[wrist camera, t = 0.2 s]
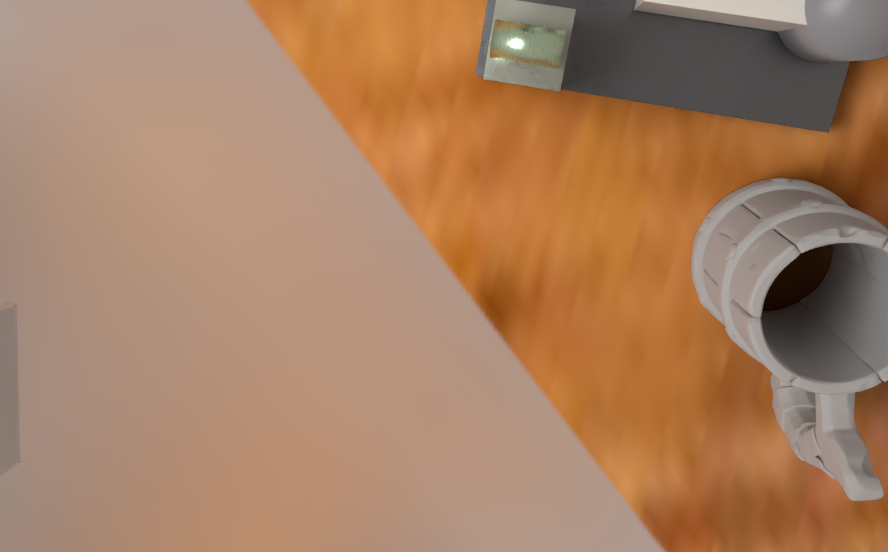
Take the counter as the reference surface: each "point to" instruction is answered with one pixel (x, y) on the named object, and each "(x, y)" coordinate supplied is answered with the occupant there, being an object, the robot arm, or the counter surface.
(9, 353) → the robot arm
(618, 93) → the level base
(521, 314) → the counter surface
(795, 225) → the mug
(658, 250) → the counter surface
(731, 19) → the lever
